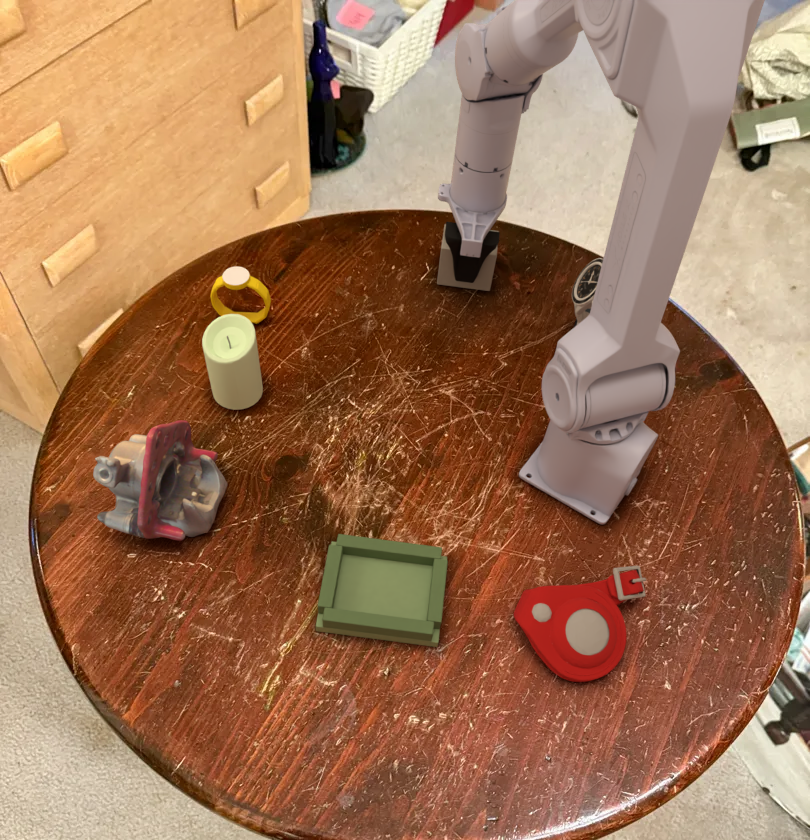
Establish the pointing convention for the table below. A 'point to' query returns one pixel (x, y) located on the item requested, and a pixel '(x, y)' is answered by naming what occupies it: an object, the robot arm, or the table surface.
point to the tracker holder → (579, 623)
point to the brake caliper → (161, 484)
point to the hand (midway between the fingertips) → (466, 265)
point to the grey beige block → (447, 269)
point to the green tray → (383, 590)
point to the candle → (233, 361)
